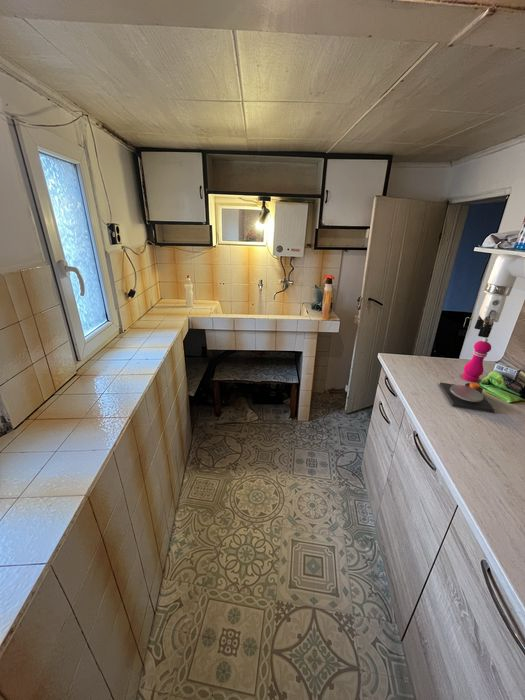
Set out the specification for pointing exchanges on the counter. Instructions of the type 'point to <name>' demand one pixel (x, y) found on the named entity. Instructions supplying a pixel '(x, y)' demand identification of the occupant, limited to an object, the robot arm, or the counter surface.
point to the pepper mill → (476, 361)
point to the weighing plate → (466, 393)
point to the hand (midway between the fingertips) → (480, 332)
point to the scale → (459, 402)
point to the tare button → (474, 385)
